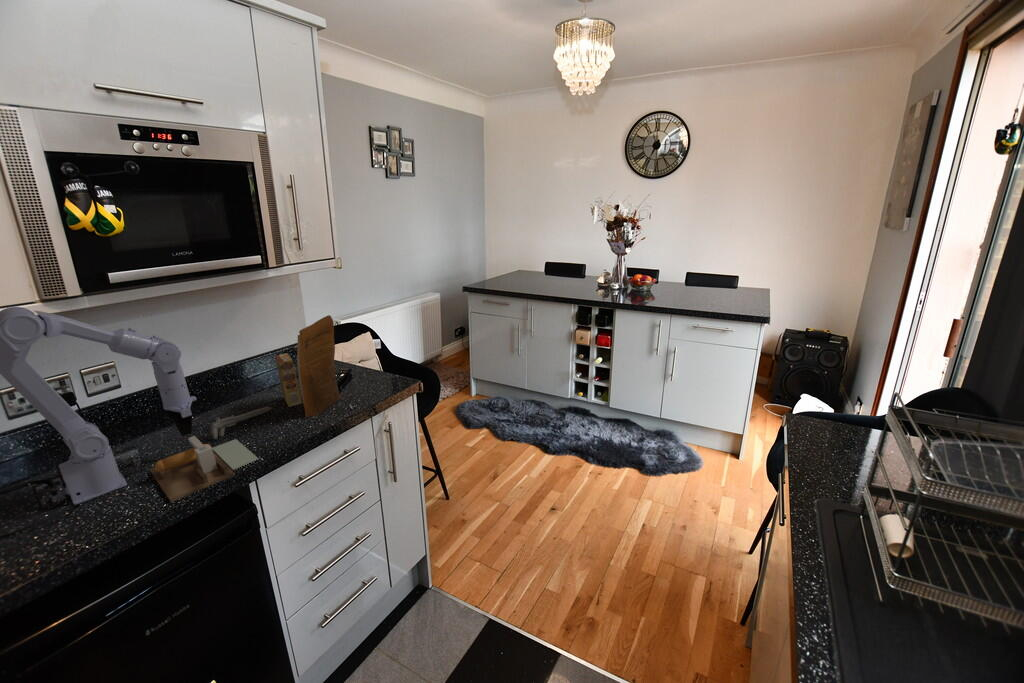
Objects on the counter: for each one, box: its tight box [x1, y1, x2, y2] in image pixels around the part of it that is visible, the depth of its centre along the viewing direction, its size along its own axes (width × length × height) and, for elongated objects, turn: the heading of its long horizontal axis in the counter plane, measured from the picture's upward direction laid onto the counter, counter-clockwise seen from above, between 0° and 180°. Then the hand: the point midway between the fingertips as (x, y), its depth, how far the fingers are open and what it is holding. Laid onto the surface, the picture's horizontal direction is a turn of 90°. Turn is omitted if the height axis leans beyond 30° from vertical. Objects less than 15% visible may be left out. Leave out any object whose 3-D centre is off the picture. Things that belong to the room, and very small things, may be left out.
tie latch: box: [187, 435, 218, 474], centre depth 115 cm, size 3×11×6 cm, turn 48°
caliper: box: [210, 406, 273, 440], centre depth 137 cm, size 20×1×6 cm, turn 162°
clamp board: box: [149, 451, 235, 503], centre depth 113 cm, size 13×19×3 cm
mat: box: [212, 438, 259, 471], centre depth 121 cm, size 6×16×1 cm, turn 48°
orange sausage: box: [154, 443, 213, 472], centre depth 114 cm, size 12×3×3 cm, turn 138°
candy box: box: [274, 352, 303, 408], centre depth 149 cm, size 9×4×15 cm, turn 36°
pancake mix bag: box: [296, 315, 341, 418], centre depth 143 cm, size 7×19×28 cm, turn 164°
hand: (186, 433), depth 121 cm, fingers closed
